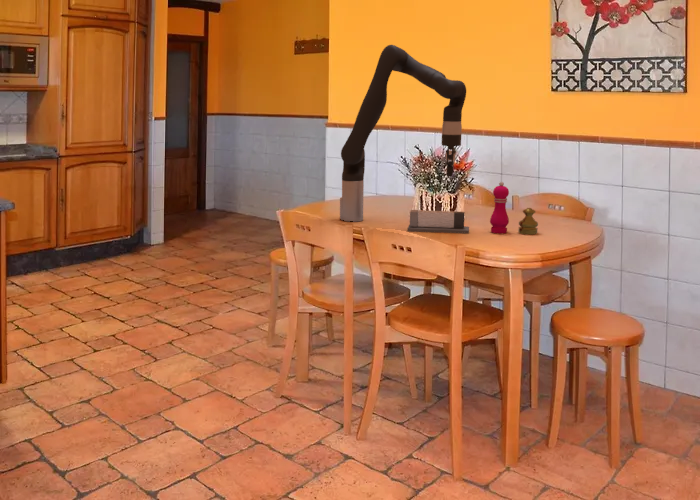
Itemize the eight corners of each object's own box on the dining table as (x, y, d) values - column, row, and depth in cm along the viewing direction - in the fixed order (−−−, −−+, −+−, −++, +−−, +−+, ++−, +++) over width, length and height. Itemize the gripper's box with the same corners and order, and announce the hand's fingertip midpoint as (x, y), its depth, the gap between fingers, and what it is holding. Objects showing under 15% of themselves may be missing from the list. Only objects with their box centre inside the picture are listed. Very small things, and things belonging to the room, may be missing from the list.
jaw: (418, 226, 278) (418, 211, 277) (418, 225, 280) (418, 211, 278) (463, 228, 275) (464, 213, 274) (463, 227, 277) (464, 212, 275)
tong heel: (409, 226, 278) (410, 211, 277) (410, 224, 283) (411, 209, 281) (417, 226, 278) (417, 211, 276) (418, 224, 282) (418, 210, 281)
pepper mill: (499, 234, 271) (502, 183, 267) (485, 231, 277) (488, 181, 272) (512, 232, 275) (514, 182, 271) (498, 229, 281) (500, 180, 277)
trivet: (407, 231, 276) (407, 228, 276) (409, 227, 285) (409, 224, 285) (468, 233, 273) (468, 230, 272) (468, 229, 281) (469, 226, 281)
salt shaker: (535, 231, 278) (537, 206, 276) (538, 235, 270) (540, 209, 268) (516, 231, 278) (518, 206, 276) (519, 234, 271) (521, 209, 269)
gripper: (461, 134, 263) (459, 177, 266) (461, 132, 277) (460, 173, 280) (440, 134, 264) (439, 176, 268) (442, 132, 278) (441, 173, 281)
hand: (449, 175), depth 274 cm, fingers open, 8 cm apart
